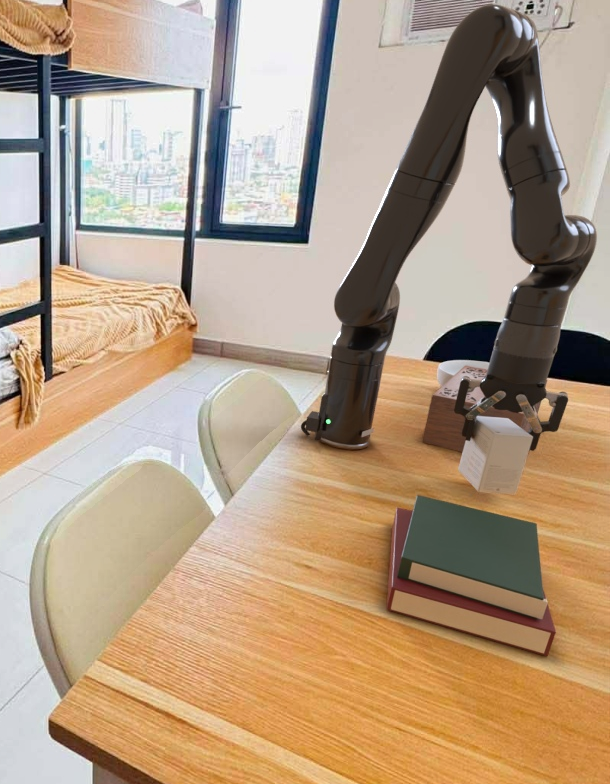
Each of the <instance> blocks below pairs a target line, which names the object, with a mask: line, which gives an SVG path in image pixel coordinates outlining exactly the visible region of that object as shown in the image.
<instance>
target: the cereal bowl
mask: <svg viewBox="0 0 610 784" xmlns="http://www.w3.org/2000/svg"><path fill="white" fill-rule="evenodd" d="M489 363H490V361H489V362H488V361H480V360H471V359H470V360H469V359H453V360H447V361H443V362H441V363H439V364H438V366H437V370H436V379H437V383H438V384H439V387H440V388H441V387H442V386H443V385H444V384H445V383H446V382H447V381H448V380H450V379H451V378H452V377H453V376H454V375H455V374H456V373H457V372H458V371H460V370H461V369H462V368H463V367H464V366H465V365H466V366H471V367H477V368H483V369H488V367H489Z"/></svg>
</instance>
